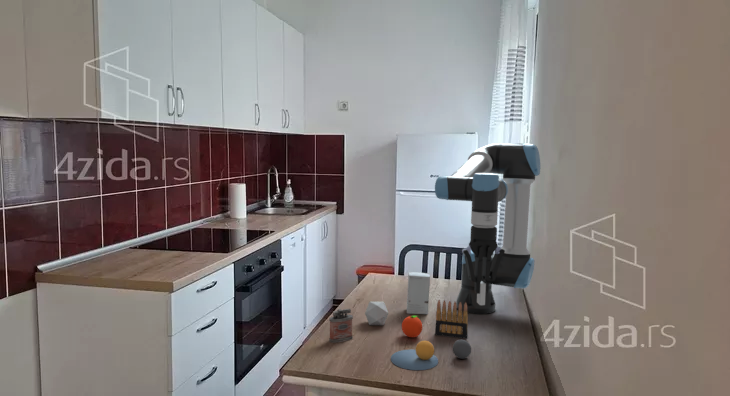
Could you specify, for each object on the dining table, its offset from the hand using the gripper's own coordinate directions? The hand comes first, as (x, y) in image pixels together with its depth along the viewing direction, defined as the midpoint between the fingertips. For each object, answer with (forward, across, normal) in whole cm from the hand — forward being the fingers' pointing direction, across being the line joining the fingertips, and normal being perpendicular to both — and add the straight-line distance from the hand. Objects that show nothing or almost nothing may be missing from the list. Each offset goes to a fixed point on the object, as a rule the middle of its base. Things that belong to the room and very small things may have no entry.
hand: (480, 303), depth 148 cm
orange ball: (+14, -17, 0) cm, 22 cm away
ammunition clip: (+17, -3, +17) cm, 24 cm away
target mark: (+16, -20, 0) cm, 26 cm away
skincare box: (+17, -8, +42) cm, 46 cm away
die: (+17, -26, +31) cm, 44 cm away
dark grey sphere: (+14, -6, 0) cm, 15 cm away
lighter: (+17, -40, +18) cm, 47 cm away
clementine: (+17, -16, +18) cm, 29 cm away
